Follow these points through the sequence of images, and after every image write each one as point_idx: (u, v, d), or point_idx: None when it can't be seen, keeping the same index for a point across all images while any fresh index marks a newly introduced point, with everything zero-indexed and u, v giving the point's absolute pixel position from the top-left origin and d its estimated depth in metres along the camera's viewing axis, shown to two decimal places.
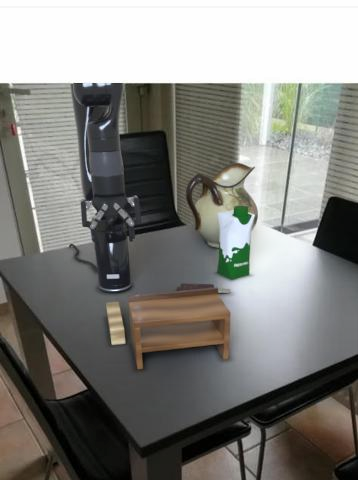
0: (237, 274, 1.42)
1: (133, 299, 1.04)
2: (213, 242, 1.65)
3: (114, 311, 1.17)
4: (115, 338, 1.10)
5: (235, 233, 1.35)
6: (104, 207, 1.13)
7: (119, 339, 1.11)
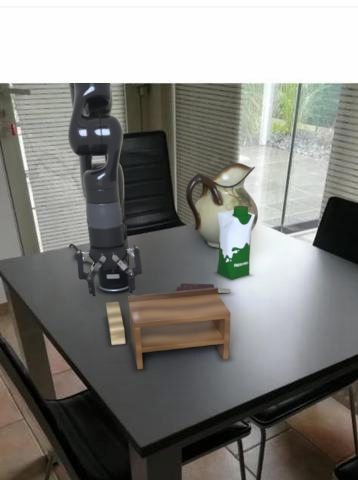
0: (237, 274, 1.42)
1: (133, 299, 1.04)
2: (213, 242, 1.65)
3: (114, 311, 1.17)
4: (115, 338, 1.10)
5: (235, 233, 1.35)
6: (102, 259, 1.05)
7: (119, 339, 1.11)
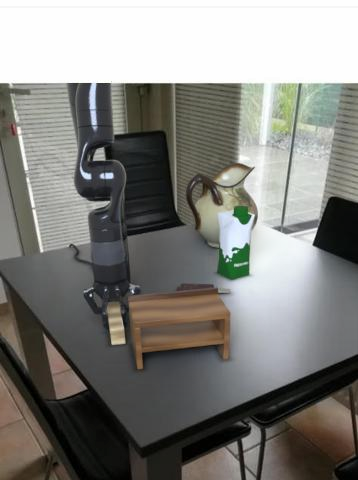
0: (237, 274, 1.42)
1: (133, 299, 1.04)
2: (213, 242, 1.65)
3: (114, 311, 1.17)
4: (115, 338, 1.10)
5: (235, 233, 1.35)
6: (105, 292, 1.10)
7: (119, 339, 1.11)
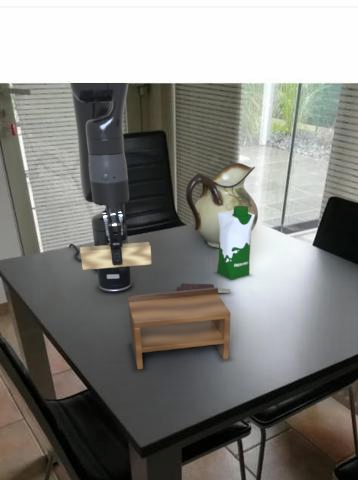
0: (237, 274, 1.42)
1: (133, 299, 1.04)
2: (213, 242, 1.65)
3: (123, 246, 1.04)
4: None
5: (235, 233, 1.35)
6: (102, 214, 1.01)
7: None
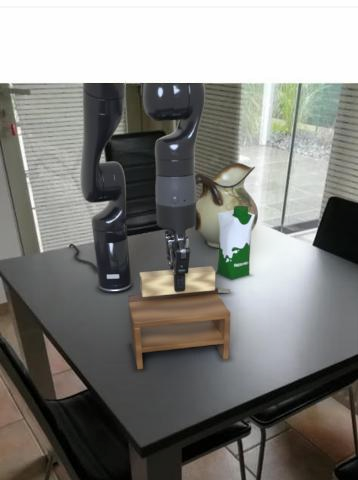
0: (237, 274, 1.42)
1: (133, 299, 1.04)
2: (213, 242, 1.65)
3: None
4: (140, 285, 0.98)
5: (235, 233, 1.35)
6: (165, 237, 0.94)
7: (141, 288, 0.97)
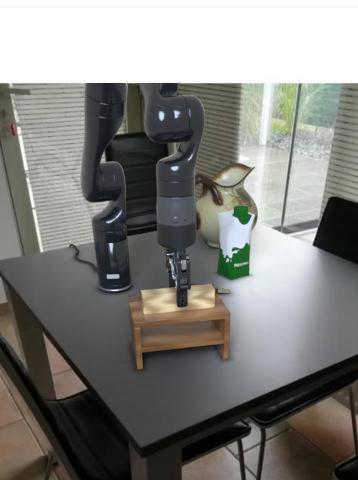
0: (237, 274, 1.42)
1: (133, 299, 1.04)
2: (213, 242, 1.65)
3: None
4: (142, 303, 1.00)
5: (235, 233, 1.35)
6: (166, 255, 0.96)
7: (142, 306, 0.99)
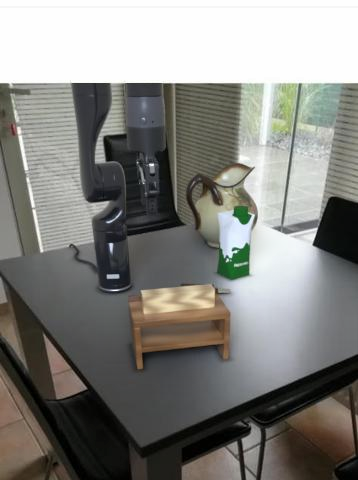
0: (237, 274, 1.42)
1: (133, 299, 1.04)
2: (213, 242, 1.65)
3: (186, 289, 0.99)
4: (142, 303, 1.00)
5: (235, 233, 1.35)
6: (136, 163, 0.97)
7: (142, 306, 0.99)
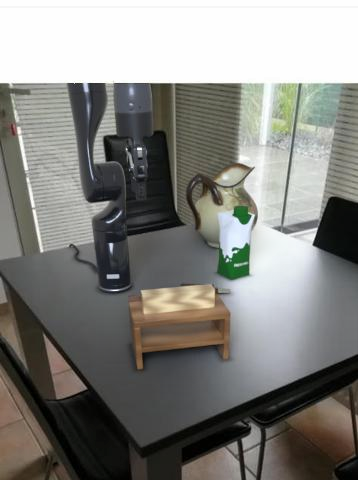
0: (237, 274, 1.42)
1: (133, 299, 1.04)
2: (213, 242, 1.65)
3: (186, 289, 0.99)
4: (142, 303, 1.00)
5: (235, 233, 1.35)
6: (126, 150, 1.00)
7: (142, 306, 0.99)
